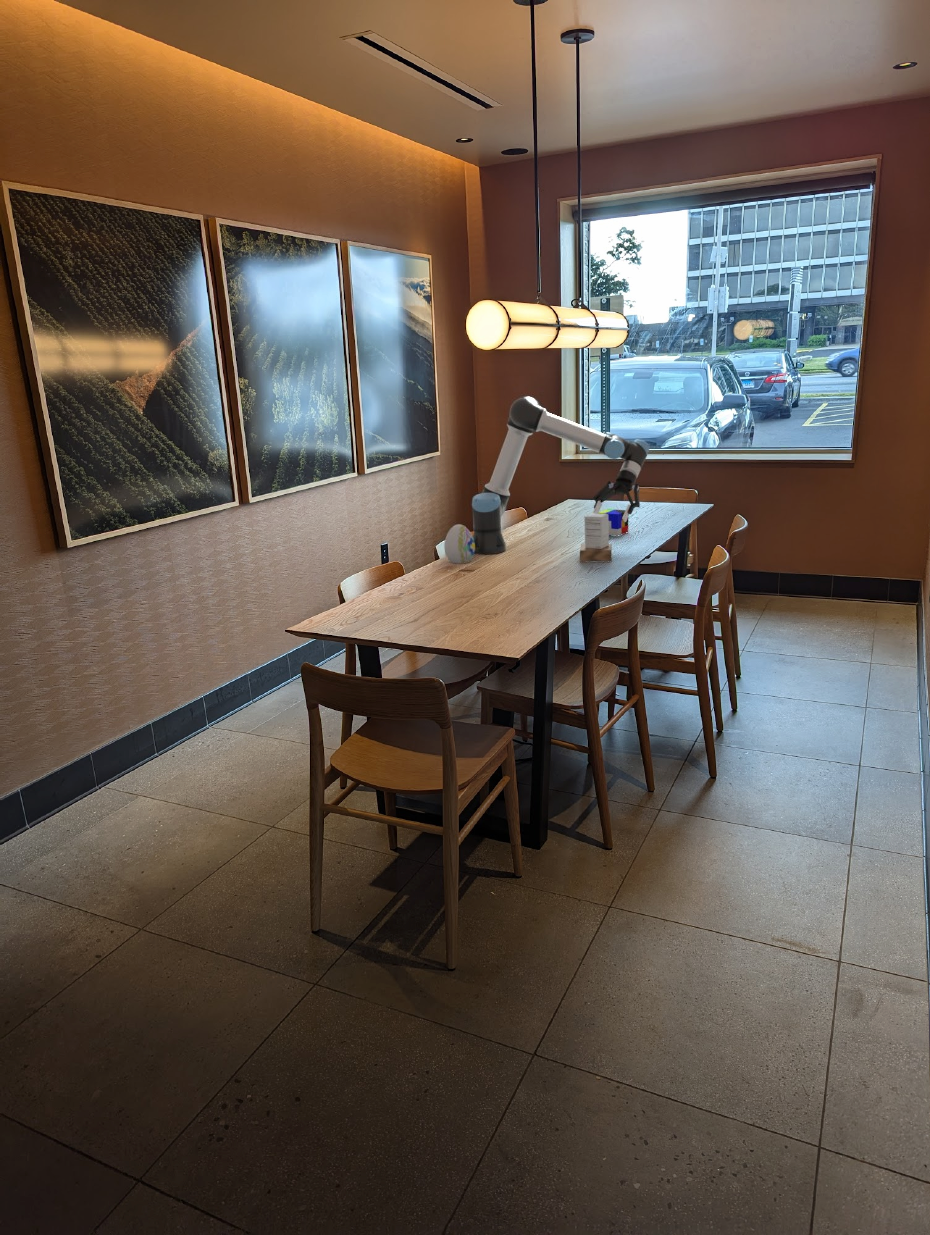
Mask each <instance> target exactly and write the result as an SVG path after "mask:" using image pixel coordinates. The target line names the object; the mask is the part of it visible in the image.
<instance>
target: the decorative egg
mask: <svg viewBox="0 0 930 1235" xmlns="http://www.w3.org/2000/svg"><path fill="white" fill-rule="evenodd" d="M445 536H446V537H445V540H444V546H443V547H444V548H443V549H444V553H445V554H444V555H445V556H446V558H447V560H448V561H449V562H450V563H452V564H467V563H470V562H471V561H472V559H473V557H474V555H475V553H474V552H475V543H474V539H473V534H472V533H471V531H470V530H469V529H468V528H467V527H466V526H465V525H463V524H459V523H458V524H454V525H453V526H451V528H449V530H448V532H447V534H446V535H445Z"/></svg>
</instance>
